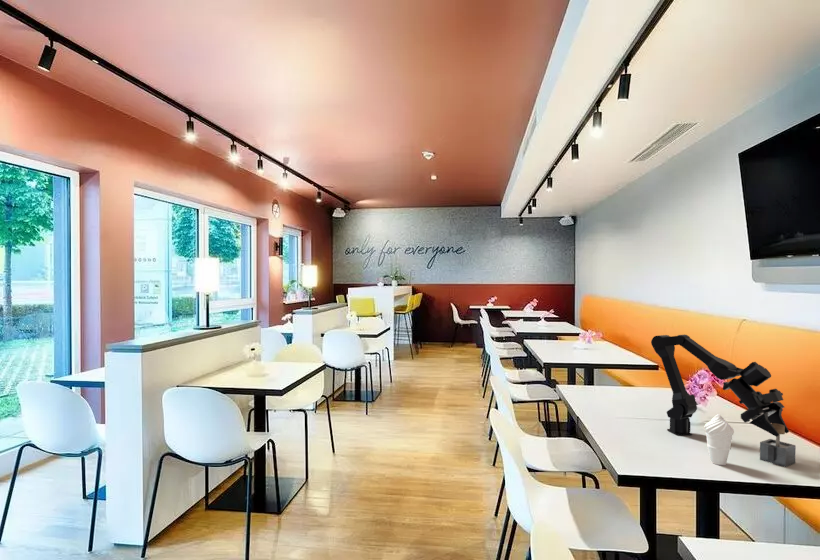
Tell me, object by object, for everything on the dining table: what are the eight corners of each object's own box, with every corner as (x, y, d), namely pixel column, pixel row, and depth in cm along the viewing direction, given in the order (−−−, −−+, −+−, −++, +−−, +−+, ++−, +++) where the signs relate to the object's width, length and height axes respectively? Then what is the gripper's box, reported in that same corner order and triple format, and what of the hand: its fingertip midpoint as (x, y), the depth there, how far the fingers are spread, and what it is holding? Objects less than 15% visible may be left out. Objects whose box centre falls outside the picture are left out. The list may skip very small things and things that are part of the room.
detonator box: (758, 460, 157) (758, 442, 157) (770, 456, 161) (770, 438, 161) (783, 467, 151) (783, 449, 151) (795, 463, 155) (795, 445, 155)
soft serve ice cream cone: (734, 470, 148) (735, 419, 148) (703, 464, 153) (704, 415, 153) (732, 461, 156) (733, 413, 156) (703, 456, 160) (704, 409, 160)
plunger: (764, 446, 157) (765, 423, 157) (772, 443, 160) (772, 421, 160) (783, 451, 153) (783, 428, 153) (790, 448, 155) (790, 425, 155)
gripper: (751, 383, 155) (790, 425, 146) (778, 378, 164) (816, 418, 155) (725, 401, 162) (761, 443, 152) (752, 395, 171) (787, 434, 162)
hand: (782, 434), depth 155 cm, fingers open, 7 cm apart
